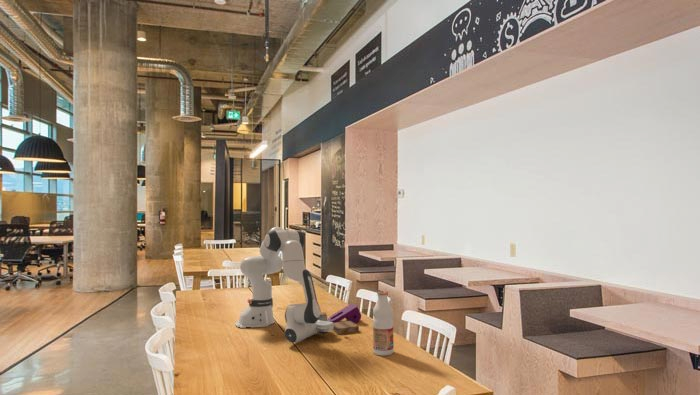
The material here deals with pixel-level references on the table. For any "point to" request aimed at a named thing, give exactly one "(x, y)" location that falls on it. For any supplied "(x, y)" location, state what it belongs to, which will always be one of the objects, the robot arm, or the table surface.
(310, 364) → the table surface
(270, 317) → the robot arm
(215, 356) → the table surface
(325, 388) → the table surface
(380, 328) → the fruit juice
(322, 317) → the grey can
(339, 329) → the stand
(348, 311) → the mounting bracket
